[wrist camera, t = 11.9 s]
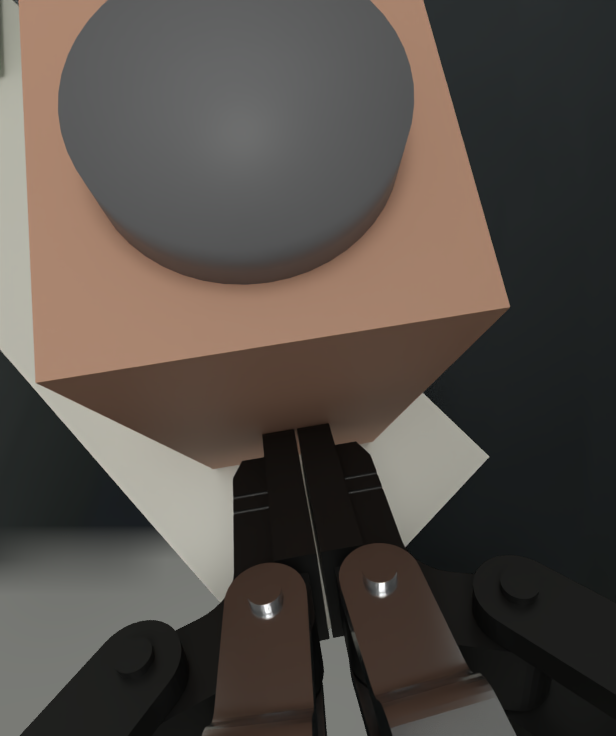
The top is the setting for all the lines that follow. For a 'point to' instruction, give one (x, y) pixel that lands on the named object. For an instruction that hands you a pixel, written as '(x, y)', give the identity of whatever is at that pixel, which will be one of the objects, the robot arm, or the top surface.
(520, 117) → the top surface
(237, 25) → the light brown tall block
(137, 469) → the button board
